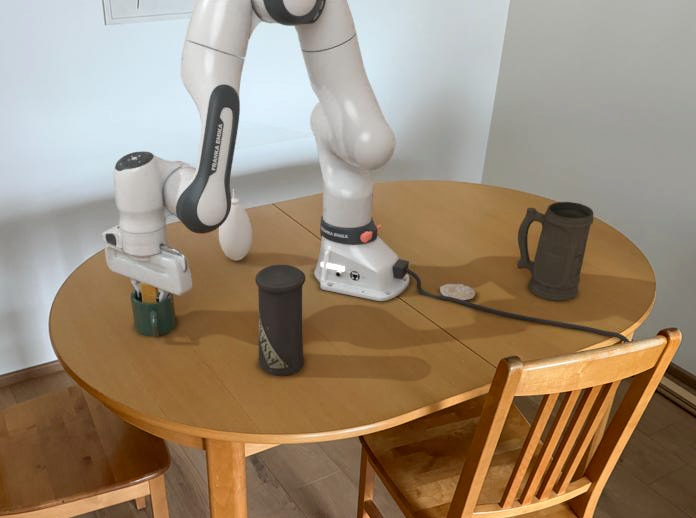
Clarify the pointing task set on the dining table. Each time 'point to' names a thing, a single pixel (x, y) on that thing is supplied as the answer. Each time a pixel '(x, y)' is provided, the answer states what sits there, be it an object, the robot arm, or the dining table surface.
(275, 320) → the container
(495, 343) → the dining table surface
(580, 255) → the beer stein
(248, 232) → the white air blower bulb
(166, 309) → the teal faceted mug
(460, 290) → the flatbread
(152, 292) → the supplement box
